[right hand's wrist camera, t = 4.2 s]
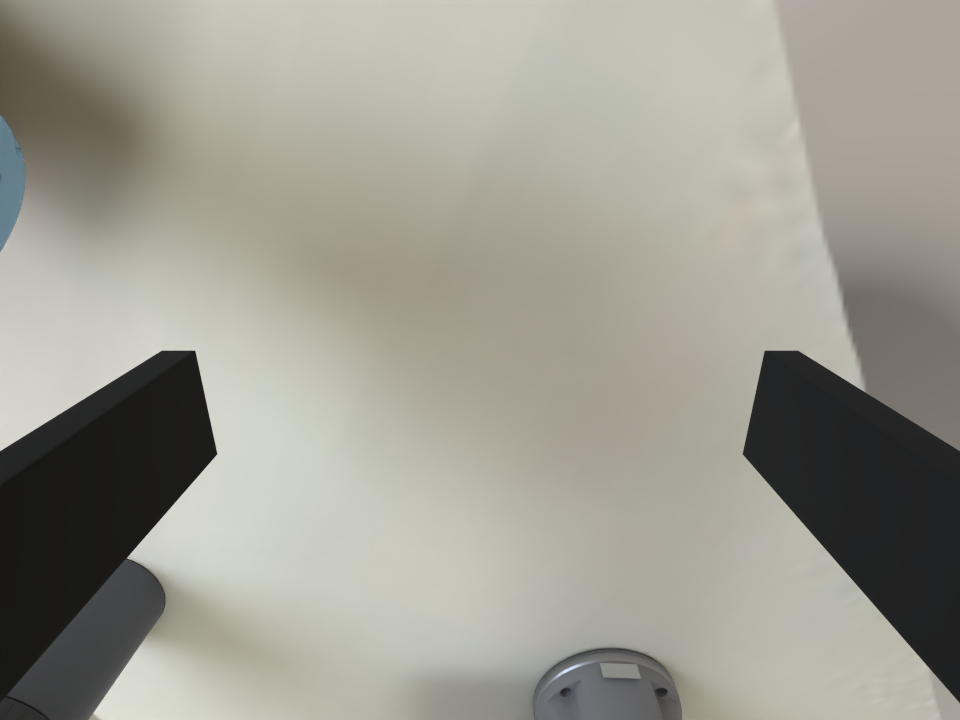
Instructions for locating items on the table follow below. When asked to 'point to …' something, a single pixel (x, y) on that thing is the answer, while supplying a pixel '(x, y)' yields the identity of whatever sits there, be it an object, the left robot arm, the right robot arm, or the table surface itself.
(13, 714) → the lid
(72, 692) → the jar
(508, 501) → the table surface
